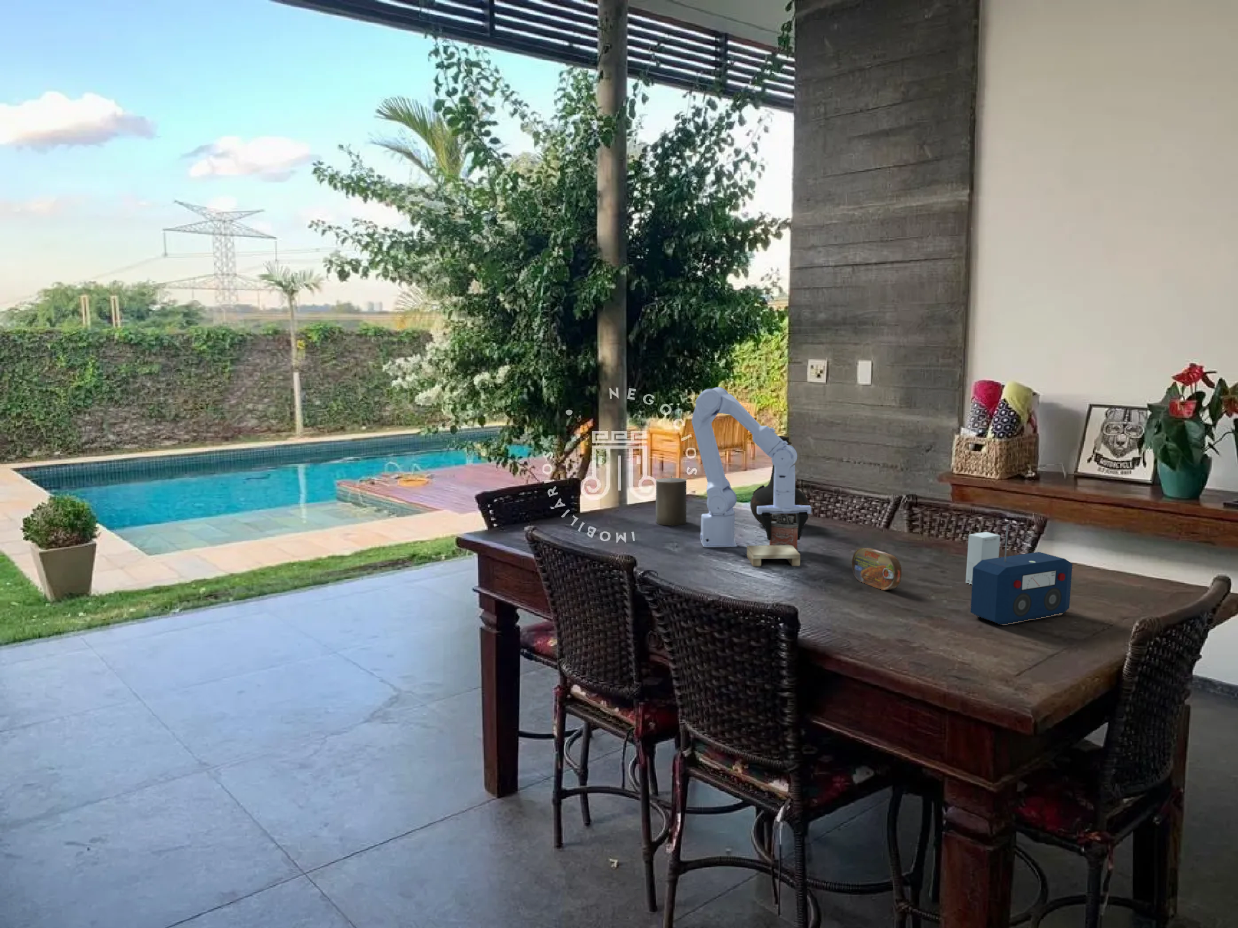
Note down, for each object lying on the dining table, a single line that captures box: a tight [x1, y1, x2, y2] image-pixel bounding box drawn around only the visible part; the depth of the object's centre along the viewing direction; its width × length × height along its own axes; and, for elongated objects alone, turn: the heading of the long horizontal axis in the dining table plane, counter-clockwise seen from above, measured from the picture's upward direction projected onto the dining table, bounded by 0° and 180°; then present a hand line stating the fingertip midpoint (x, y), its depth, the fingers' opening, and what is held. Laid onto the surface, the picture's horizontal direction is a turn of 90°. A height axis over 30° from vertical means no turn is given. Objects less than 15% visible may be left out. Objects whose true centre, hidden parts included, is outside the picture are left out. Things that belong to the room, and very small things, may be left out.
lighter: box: [769, 514, 799, 552], centre depth 240 cm, size 8×3×10 cm, turn 63°
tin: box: [851, 547, 903, 591], centre depth 206 cm, size 15×3×8 cm, turn 23°
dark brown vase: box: [749, 435, 810, 526], centre depth 270 cm, size 18×18×28 cm
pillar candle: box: [655, 475, 687, 527], centre depth 276 cm, size 10×10×15 cm
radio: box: [970, 524, 1073, 625], centre depth 182 cm, size 21×9×20 cm, turn 114°
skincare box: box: [965, 531, 1001, 585], centre depth 206 cm, size 6×4×12 cm
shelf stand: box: [746, 544, 801, 567], centre depth 229 cm, size 12×10×3 cm
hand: (783, 539), depth 240 cm, fingers closed on lighter, 7 cm apart
